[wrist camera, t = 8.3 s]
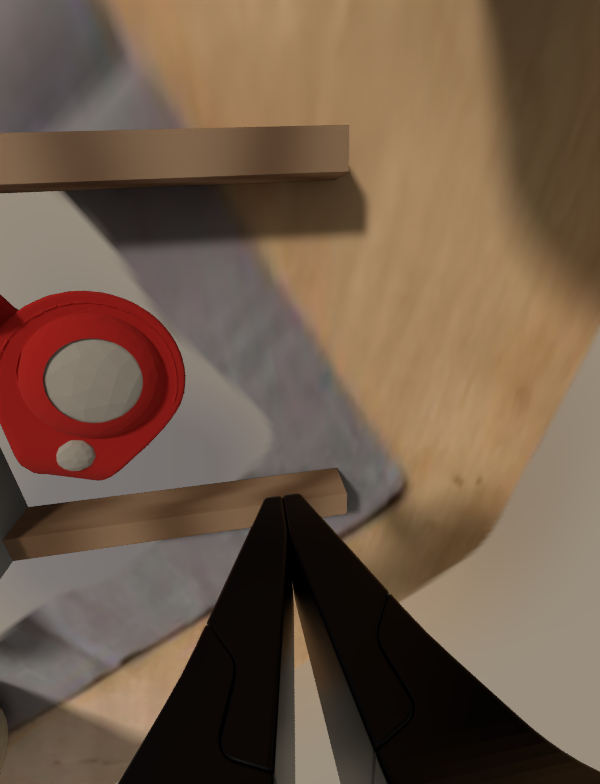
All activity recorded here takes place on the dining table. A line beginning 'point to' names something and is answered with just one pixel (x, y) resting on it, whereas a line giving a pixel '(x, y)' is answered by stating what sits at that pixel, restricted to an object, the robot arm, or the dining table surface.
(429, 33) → the dining table surface
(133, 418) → the tracker holder
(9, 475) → the end stop
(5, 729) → the canister
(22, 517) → the walnut channel
